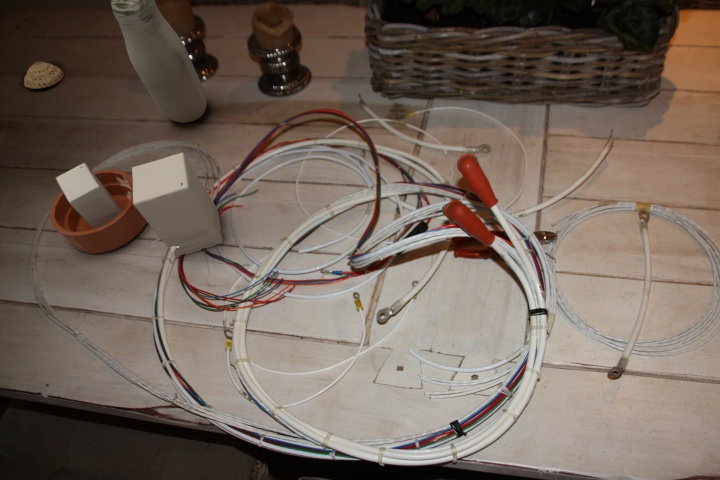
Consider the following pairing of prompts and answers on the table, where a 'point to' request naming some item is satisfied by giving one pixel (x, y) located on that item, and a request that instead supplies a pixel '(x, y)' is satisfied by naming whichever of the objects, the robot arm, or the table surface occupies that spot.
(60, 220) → the bowl
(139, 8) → the glass bottle
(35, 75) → the seashell
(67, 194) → the small box
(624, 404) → the table surface
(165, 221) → the white product box
